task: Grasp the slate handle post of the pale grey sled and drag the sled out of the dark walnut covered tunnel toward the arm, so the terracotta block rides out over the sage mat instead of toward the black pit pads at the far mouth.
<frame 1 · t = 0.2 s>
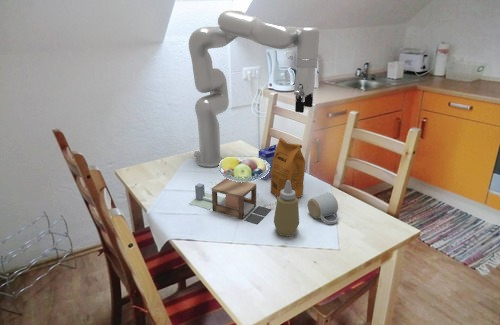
hand: (303, 109, 136), 31 cm above the table, fingers open, 9 cm apart
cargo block: (234, 204, 126), point 2 cm above the table, touching sled
ceramic mug: (324, 217, 122), on the table
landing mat: (207, 200, 132), on the table
ink cartridge box: (269, 176, 154), on the table
coffee package: (286, 194, 137), on the table
tunnel: (234, 208, 127), on the table
squeeze bottle: (285, 232, 114), on the table
pit pads: (258, 215, 123), on the table
sled: (222, 197, 128), point 3 cm above the table, slide at 0.0 cm, touching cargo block
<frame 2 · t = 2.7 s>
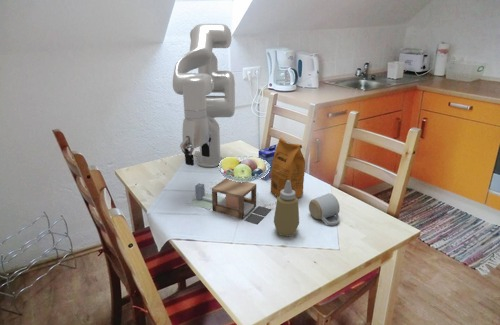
hand: (198, 160, 127), 16 cm above the table, fingers open, 9 cm apart
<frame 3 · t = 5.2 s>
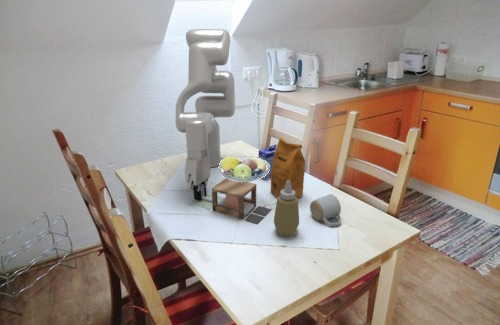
hand: (200, 197, 133), 1 cm above the table, fingers closed on sled, 2 cm apart
sled: (222, 197, 128), point 3 cm above the table, slide at 0.0 cm, touching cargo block, gripper
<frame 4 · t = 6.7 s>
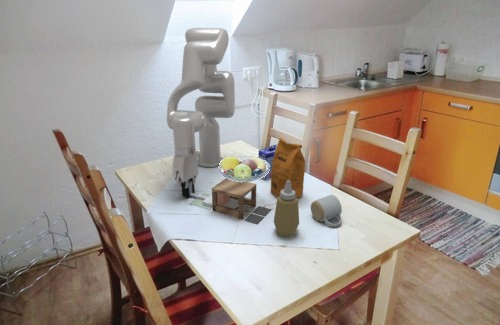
hand: (188, 194, 136), 1 cm above the table, fingers closed on sled, 2 cm apart
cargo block: (221, 201, 129), point 2 cm above the table, touching sled
sled: (209, 194, 131), point 3 cm above the table, slide at 5.6 cm, touching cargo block, gripper
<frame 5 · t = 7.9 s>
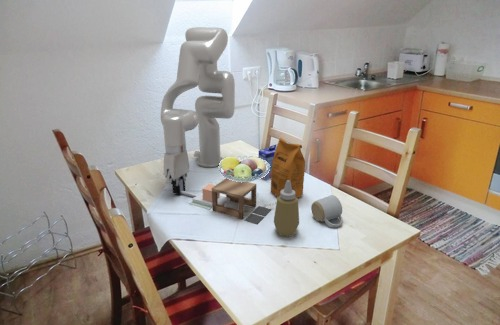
hand: (179, 191, 138), 1 cm above the table, fingers closed on sled, 2 cm apart
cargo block: (211, 198, 131), point 2 cm above the table, touching sled
sled: (199, 191, 132), point 3 cm above the table, slide at 10.0 cm, touching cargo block, gripper
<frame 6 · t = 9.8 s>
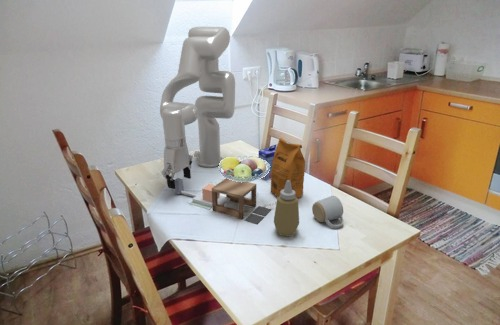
hand: (179, 182, 137), 4 cm above the table, fingers open, 9 cm apart
sled: (199, 191, 132), point 3 cm above the table, slide at 10.0 cm, touching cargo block
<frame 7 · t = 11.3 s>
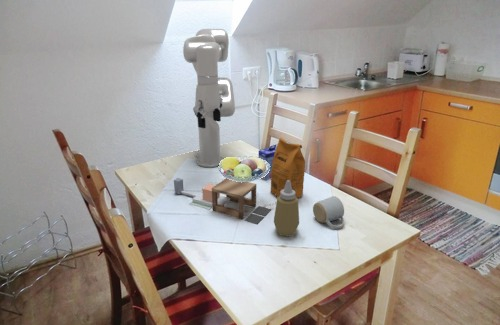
hand: (209, 124, 138), 25 cm above the table, fingers open, 9 cm apart
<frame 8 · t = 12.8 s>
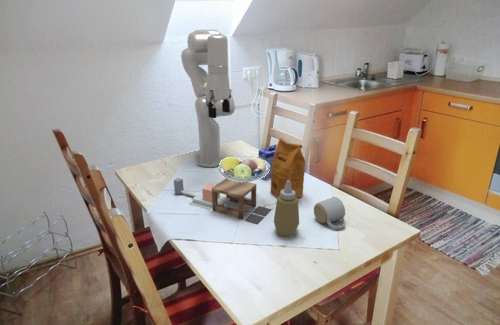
hand: (219, 114, 138), 28 cm above the table, fingers open, 9 cm apart
at the end: sled slide at 10.0 cm; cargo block inside the target area (1.8 cm from its centre), point 1.6 cm above the table; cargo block tilted 0° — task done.
